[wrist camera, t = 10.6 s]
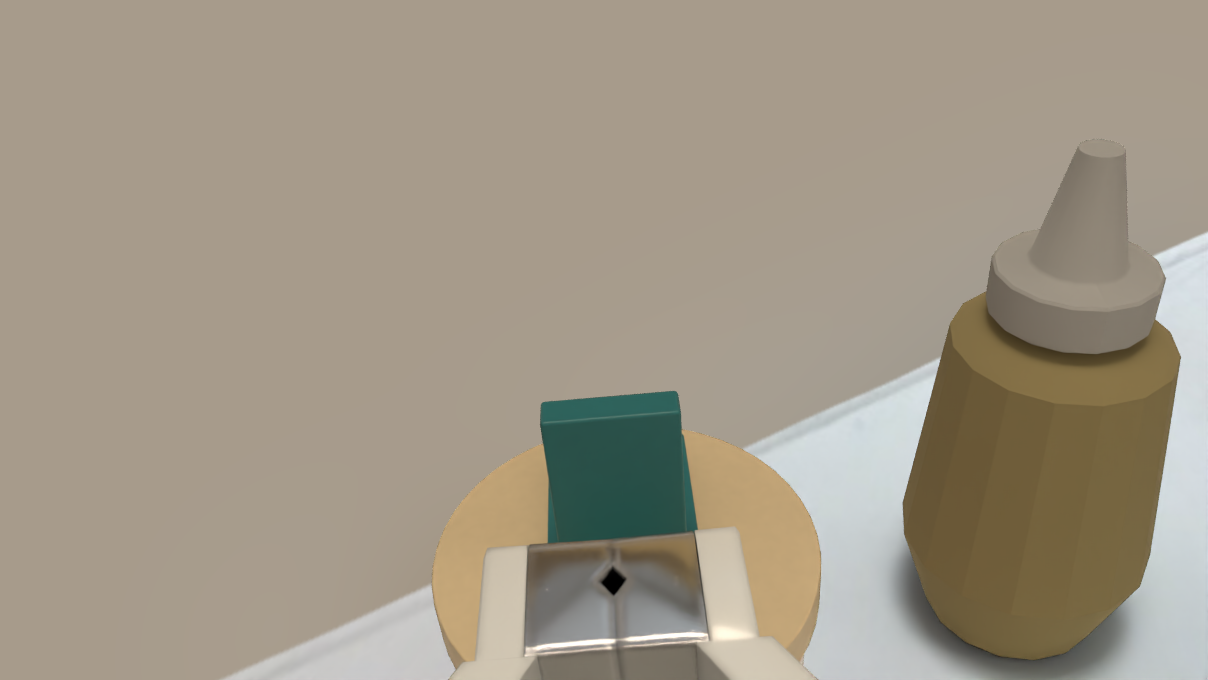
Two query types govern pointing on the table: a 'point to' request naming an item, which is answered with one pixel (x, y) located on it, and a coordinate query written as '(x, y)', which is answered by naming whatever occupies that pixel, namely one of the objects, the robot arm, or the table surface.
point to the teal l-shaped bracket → (616, 467)
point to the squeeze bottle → (1047, 428)
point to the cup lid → (722, 499)
